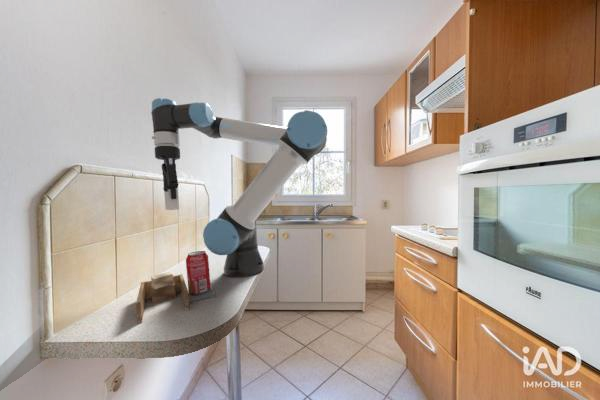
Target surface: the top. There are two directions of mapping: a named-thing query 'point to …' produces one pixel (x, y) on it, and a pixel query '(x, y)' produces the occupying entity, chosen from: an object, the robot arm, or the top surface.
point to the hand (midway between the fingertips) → (171, 209)
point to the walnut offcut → (163, 293)
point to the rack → (146, 293)
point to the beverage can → (198, 272)
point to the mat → (200, 296)
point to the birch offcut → (162, 280)
